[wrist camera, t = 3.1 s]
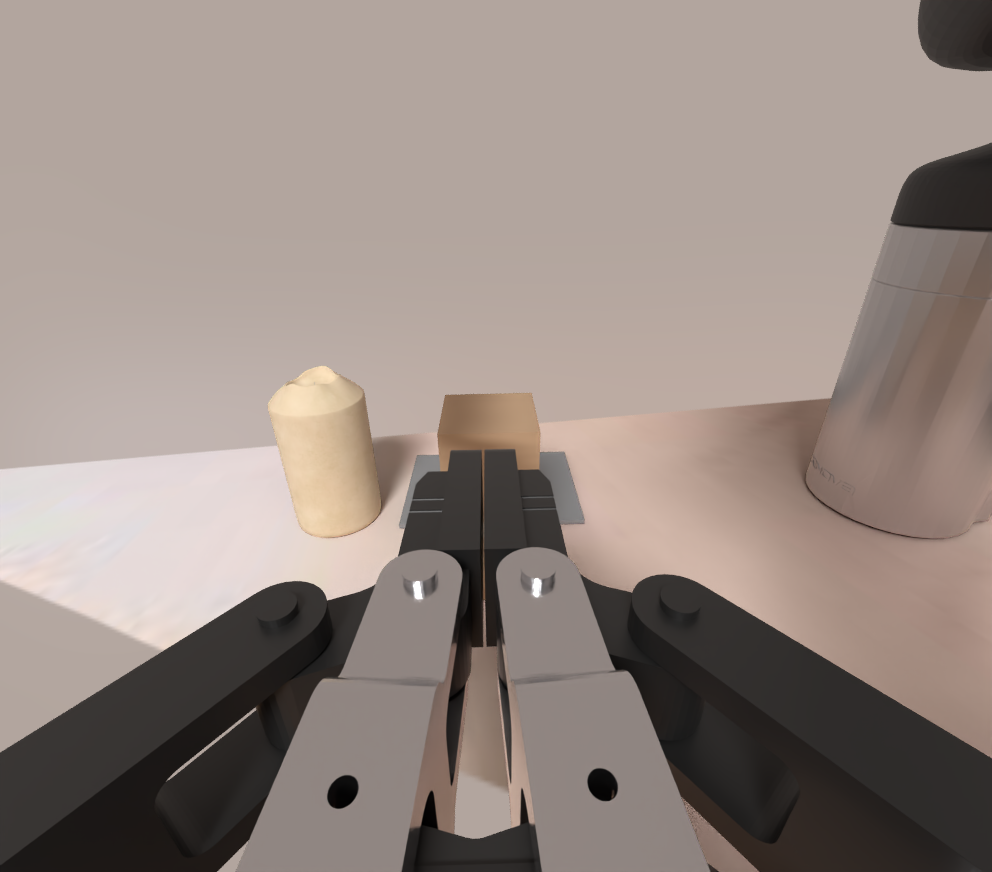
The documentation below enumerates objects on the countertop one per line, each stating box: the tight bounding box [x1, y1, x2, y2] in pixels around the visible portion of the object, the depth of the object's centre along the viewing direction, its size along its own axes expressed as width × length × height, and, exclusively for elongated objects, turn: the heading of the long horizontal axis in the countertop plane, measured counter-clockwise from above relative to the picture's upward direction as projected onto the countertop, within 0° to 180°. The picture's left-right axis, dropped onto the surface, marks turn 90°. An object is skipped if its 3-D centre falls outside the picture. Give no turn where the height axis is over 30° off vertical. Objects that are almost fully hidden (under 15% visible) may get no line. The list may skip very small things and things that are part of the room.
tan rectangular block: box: [437, 393, 540, 600], centre depth 25 cm, size 4×5×10 cm
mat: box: [399, 452, 584, 528], centre depth 35 cm, size 12×9×1 cm
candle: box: [268, 366, 381, 538], centre depth 30 cm, size 6×6×10 cm
